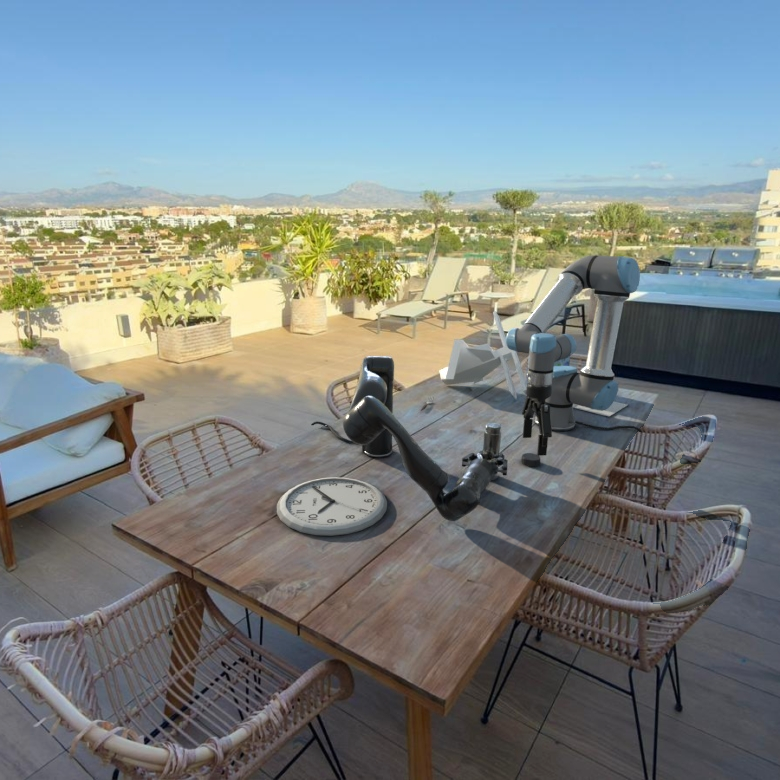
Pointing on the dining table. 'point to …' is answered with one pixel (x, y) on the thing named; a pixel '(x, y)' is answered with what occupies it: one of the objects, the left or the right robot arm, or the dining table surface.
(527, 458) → the lid
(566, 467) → the dining table surface
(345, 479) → the wall clock
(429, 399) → the fork
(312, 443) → the dining table surface
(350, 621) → the dining table surface
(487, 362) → the white plastic object
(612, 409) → the invitation card
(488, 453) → the thermos
